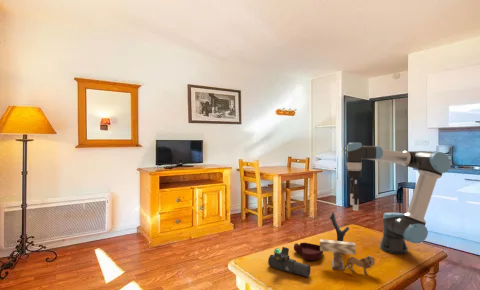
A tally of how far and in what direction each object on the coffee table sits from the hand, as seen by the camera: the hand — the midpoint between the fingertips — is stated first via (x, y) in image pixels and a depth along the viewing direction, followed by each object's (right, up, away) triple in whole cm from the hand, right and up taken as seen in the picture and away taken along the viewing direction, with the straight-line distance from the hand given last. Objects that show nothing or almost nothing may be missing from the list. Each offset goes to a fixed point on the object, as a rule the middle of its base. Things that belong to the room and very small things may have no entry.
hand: (354, 207), depth 151 cm
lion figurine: (-1, -31, -11) cm, 33 cm away
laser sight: (-39, -31, -10) cm, 51 cm away
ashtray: (-22, -31, +9) cm, 39 cm away
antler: (-3, -31, +15) cm, 34 cm away
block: (-11, -23, -5) cm, 26 cm away
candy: (-40, -31, +6) cm, 51 cm away
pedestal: (-11, -31, -5) cm, 33 cm away
